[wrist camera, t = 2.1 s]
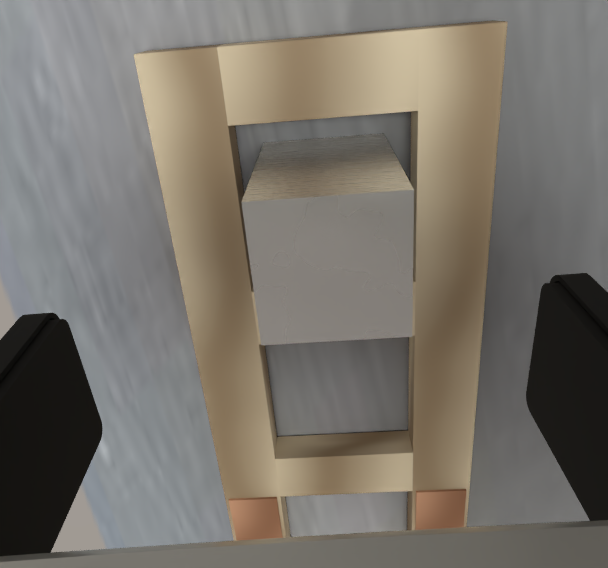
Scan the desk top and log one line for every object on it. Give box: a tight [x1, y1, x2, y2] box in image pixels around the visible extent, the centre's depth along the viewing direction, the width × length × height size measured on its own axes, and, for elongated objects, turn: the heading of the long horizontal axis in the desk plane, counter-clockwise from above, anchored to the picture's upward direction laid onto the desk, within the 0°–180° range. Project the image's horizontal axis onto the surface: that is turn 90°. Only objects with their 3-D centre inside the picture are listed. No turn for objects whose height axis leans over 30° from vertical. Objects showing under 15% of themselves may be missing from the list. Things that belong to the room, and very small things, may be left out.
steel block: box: [241, 133, 414, 345], centre depth 18 cm, size 4×4×7 cm
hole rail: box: [134, 21, 507, 541], centre depth 25 cm, size 12×30×2 cm, turn 5°
